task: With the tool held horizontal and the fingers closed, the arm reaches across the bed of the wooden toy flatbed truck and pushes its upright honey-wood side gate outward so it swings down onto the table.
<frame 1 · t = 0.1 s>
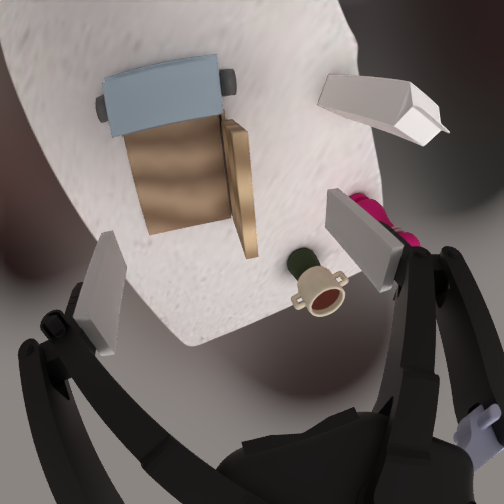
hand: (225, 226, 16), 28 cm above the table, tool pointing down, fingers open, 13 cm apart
character mug: (299, 259, 57), on the table
flatbed: (179, 173, 41), on the table
pepper mill: (354, 206, 53), on the table
side gate: (238, 184, 36), point 8 cm above the table, hinge at -2.0°
cab: (165, 92, 33), on the table
milk: (336, 96, 39), on the table
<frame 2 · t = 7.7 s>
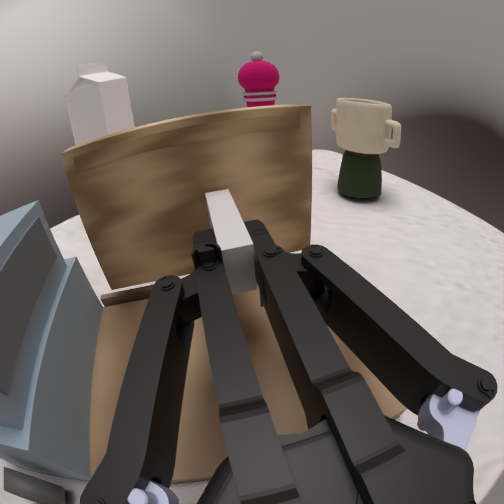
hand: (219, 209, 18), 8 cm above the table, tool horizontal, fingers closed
character mug: (358, 195, 36), on the table
flatbed: (225, 370, 17), on the table
pepper mill: (265, 174, 44), on the table
side gate: (195, 198, 18), point 8 cm above the table, hinge at 1.1°, touching gripper
cab: (58, 390, 15), on the table
milk: (126, 214, 37), on the table
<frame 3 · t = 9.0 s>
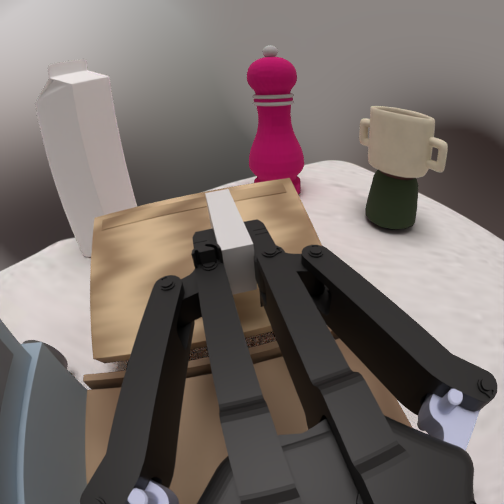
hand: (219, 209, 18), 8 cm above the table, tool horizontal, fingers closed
character mug: (389, 222, 30), on the table
flatbed: (249, 483, 10), on the table
pepper mill: (277, 192, 38), on the table
side gate: (202, 261, 18), point 5 cm above the table, hinge at 66.5°
cab: (50, 484, 8), on the table
milk: (114, 244, 30), on the table
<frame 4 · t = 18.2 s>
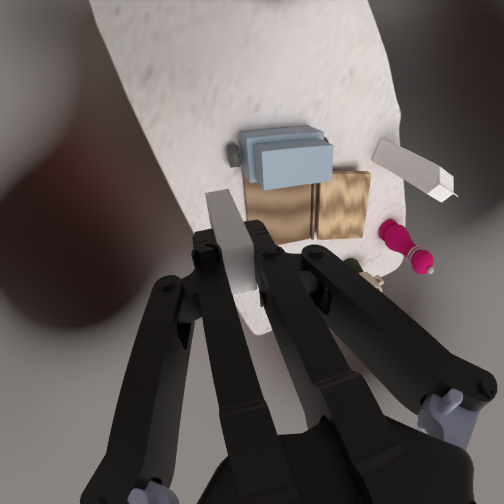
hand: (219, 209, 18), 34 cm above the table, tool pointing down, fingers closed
character mug: (347, 266, 75), on the table
flatbed: (278, 206, 59), on the table
pepper mill: (386, 228, 71), on the table
side gate: (342, 206, 58), point 4 cm above the table, hinge at 75.7°
cab: (276, 147, 51), on the table
milk: (383, 153, 57), on the table
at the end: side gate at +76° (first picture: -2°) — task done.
